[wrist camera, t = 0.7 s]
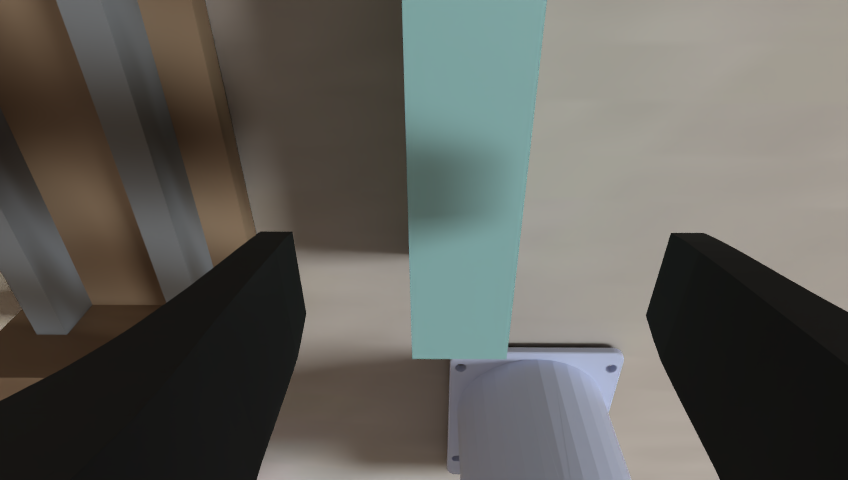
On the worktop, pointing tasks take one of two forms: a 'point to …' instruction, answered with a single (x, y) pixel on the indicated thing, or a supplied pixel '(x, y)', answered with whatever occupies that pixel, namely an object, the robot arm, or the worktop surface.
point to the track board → (108, 171)
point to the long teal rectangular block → (467, 166)
